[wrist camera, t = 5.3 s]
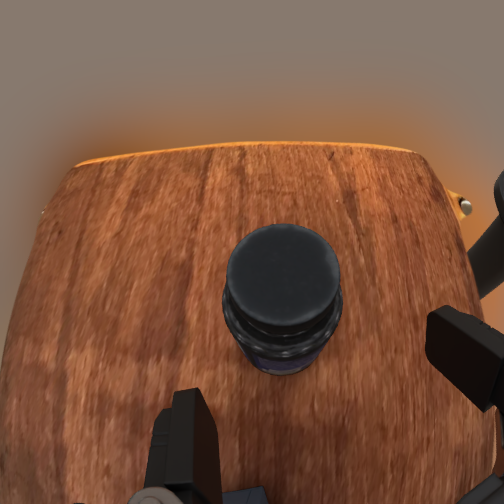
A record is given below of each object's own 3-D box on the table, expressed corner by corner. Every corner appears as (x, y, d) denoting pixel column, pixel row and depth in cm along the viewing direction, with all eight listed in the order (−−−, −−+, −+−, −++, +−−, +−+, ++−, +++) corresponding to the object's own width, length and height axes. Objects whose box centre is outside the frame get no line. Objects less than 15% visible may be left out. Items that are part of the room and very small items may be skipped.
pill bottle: (336, 323, 21) (381, 248, 12) (294, 392, 19) (313, 376, 10) (268, 284, 24) (261, 190, 14) (223, 347, 21) (178, 291, 12)
